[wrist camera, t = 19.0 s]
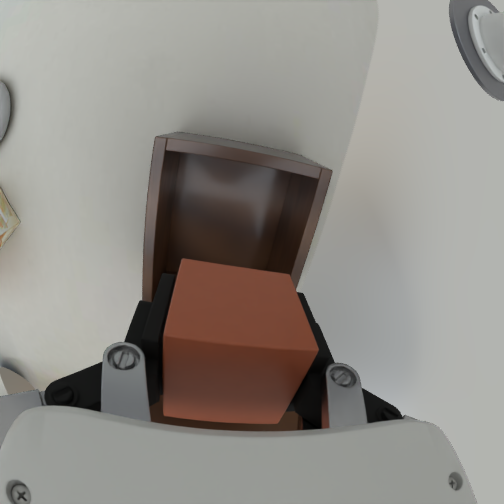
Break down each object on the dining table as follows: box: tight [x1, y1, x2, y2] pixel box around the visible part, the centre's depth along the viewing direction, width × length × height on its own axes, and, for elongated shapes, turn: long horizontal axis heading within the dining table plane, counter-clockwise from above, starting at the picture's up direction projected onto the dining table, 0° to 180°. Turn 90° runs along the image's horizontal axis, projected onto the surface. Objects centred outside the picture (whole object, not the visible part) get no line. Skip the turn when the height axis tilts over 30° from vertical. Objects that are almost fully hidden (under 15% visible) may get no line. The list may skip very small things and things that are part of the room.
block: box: [163, 258, 319, 424], centre depth 10 cm, size 4×4×4 cm
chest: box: [142, 132, 332, 302], centre depth 26 cm, size 16×13×9 cm
